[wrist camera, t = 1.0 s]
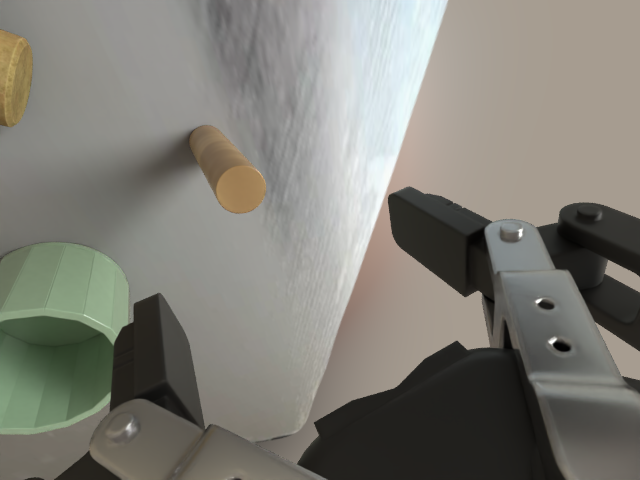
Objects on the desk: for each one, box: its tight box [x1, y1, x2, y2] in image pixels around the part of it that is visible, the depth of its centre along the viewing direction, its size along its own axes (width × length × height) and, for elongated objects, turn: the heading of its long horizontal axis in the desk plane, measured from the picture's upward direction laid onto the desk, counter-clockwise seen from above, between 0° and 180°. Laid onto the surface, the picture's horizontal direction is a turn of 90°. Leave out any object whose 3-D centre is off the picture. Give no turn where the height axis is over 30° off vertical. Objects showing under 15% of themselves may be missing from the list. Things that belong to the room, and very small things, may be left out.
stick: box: [189, 125, 266, 213], centre depth 22 cm, size 2×2×10 cm
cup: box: [0, 242, 130, 434], centre depth 24 cm, size 9×9×8 cm
